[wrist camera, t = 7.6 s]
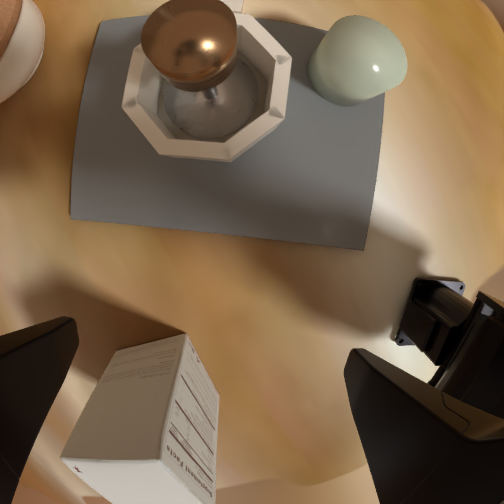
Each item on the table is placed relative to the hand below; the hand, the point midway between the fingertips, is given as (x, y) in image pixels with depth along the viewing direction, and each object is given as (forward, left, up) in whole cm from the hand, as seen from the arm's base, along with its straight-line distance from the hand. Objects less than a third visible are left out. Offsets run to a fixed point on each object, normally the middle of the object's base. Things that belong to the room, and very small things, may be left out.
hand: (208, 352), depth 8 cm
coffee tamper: (+2, -10, -11) cm, 15 cm away
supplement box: (+4, +12, -13) cm, 18 cm away
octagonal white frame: (+2, -10, -12) cm, 16 cm away
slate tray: (+1, -9, -13) cm, 16 cm away
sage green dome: (-7, -14, -12) cm, 19 cm away
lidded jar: (+21, -15, -13) cm, 29 cm away
